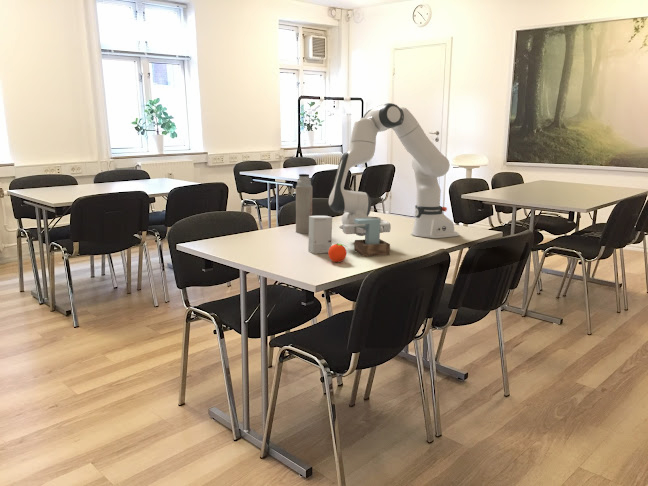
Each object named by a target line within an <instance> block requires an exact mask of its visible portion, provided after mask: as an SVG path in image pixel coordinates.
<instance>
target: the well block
mask: <svg viewBox="0 0 648 486" xmlns="http://www.w3.org/2000/svg"><path fill="white" fill-rule="evenodd" d="M390 250H391V244H390V243H388V242H387V241H385V240H383V239H381V238H380V241H379V244H369V245H366V244H365V239H355V240H354V252H356V253H358V255H360V256H362V257H365V258H366V257H380V256H381V257H382V256H390V254H391V253H390V252H391V251H390Z"/></svg>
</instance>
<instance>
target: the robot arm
mask: <svg viewBox="0 0 648 486" xmlns="http://www.w3.org/2000/svg"><path fill="white" fill-rule="evenodd" d="M390 129H392V130H393V131H394V133H395V136H397V138H398V139H399V141H400V143H401V144H402V146H403V147H404V149H405V150H406V152H408V153H409V154H410V155H411V157H413V158H412V160H411V167H412V169H413V171H414V177H415V178H414V179H415V184H416V204H415V205H414V223H413V227H412V231H411V235H412V236H414V237H415V236H416V237H419V238H420V237H421V238H422V237H423V238H431V239H442V238H449V237H450V238H451V237H459V236H460V233H459V232H458V231H455V225H454V222H453V220H451V219H450V218H449V217H448V216H446V215H445V214H444V212H447V211H448V207H446V206H441V192H442V191H441V187H440V185H439V181H438V180H439V179H438V178H439V177H443V176H445V175H446V174H447V173H448V172H449V170H450V160H449V158H448V157H446V156H445V155H444V154H443V153H442V152H441V151H440V149H439V148H438V147H436V145H435V144H434V143H433V142H432V141H431V139H430V138H429V137H428V135H427V134H426V132H425V130H423V128H422V127H421V125H420V123H419V122H418V120H417V119H416V117H415V116H414V115H413V114H412V112H411V111H410V110H409V109H408V108H407V107H403V106H402V107H399V105H397V104H395V103H392V102H391V103H389V102H388V103H387V102H386V103H384V104H381V105H377V106H376V107H374V108H372V109H369V110H368V111H366V113H365V114H364V115H363V116H362V117H360V118H358V119H356V120H355V122H354V124H353V126H352V130H351V131H352V132H351V137H350V144H349V147H348V149H347V151H346V152H344V153H343V154H342V156H341V158H340V160H339V162H338V166H337V169H336V170H337V171H336V175H335V178H334V182H333V184H332V188H331V191H330V194H329V197H328V207H329V208H330V210H332V211H333V212H334V213H343V214H342V216H341V224H342V225H339V229H341V230H342V232H343V234H346V235H356V236H360V237H365V234H366V229H365V224H356V223H354V219H362V218H377V219H380V234H382V233H383V234H384V233H390V232H391V230H392V229H391V227H392V225H391V223H390V222H389V221H387V220H385V219H381V217H379V216H369V215H370V213H371V210H372V200H371V198H370V196H369V194H368V193H367V192H365V191H364V192H363V191H356V190H348V189H345V188H344V187H345V184H346V180H347V176H348V173H349V171H350V169H352V168H353V167H356V166H360V165H362V164H366V163H368V162H370V161H371V160H372V159H373V157H374V156H375V151H376V144H377V135H378V133H381V132H385V131H387V130H390Z"/></svg>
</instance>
